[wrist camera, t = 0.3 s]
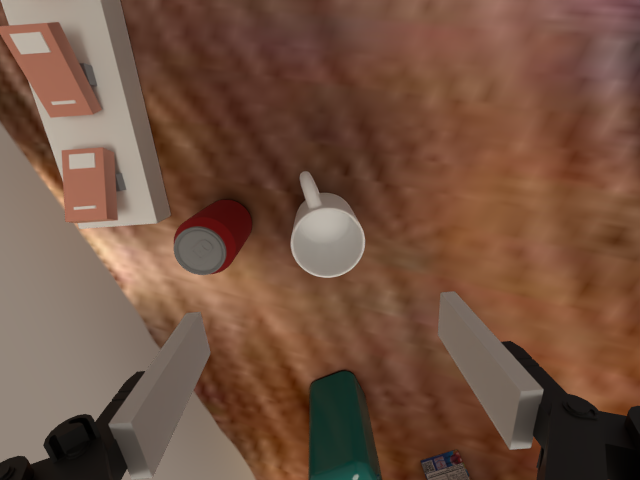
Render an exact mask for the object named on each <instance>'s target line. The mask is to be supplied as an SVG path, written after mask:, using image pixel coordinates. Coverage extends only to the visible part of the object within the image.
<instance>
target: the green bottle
mask: <svg viewBox="0 0 640 480" xmlns="http://www.w3.org/2000/svg"><path fill="white" fill-rule="evenodd" d="M309 480H382V476H381V471H380V466H379V461H378V456H377V451H376V447H375V442H374V437H373V432H372V427H371V422H370V417H369V412H368V407H367V403H366V398H365V395H364V393H363V391H362V389H361V387H360V385H359V383H358V381H357V379H356V377H355V376H354V375H353V374H352V373H351V372H348V371H341V372H338V373H336V374H333V375H330V376H327V377H325V378H322V379H319V380H317V381H315V382H313V383H312V385H311V387H310V395H309Z"/></svg>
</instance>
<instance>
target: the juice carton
mask: <svg viewBox="0 0 640 480" xmlns="http://www.w3.org/2000/svg"><path fill="white" fill-rule="evenodd" d="M421 463H422V466H423V469H424V472H425V475H426V478H427V480H471V478H470V476H469V474H468V472H467V470H466V467H465V465H464V463H463V461H462V459H461V457H460V455H459V452H458V450H457V449H456V450H453V451H450V452H447V453H444V454H440V455H437V456H434V457H431V458H428V459H425V460H421Z"/></svg>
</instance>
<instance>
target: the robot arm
mask: <svg viewBox="0 0 640 480" xmlns="http://www.w3.org/2000/svg"><path fill="white" fill-rule="evenodd" d="M438 336H439V337H440V339H441V341H442V342H443V344H444V345H445V347H446V349H447V350H448V352H449V353H450V355H451V357H452V358H453V360H454V361H455V363H456V365H457V366H458V368H459V369H460V371H461V373H462V374H463V376H464V377H465V379H466V380H467V382H468V384H469V385H470V387H471V388H472V390H473V392H474V393H475V395H476V396H477V398H478V400H479V401H480V403H481V404H482V406H483V408H484V409H485V411H486V412H487V414H488V416H489V417H490V419H491V420H492V422H493V424H494V425H495V427H496V428H497V430H498V432H499V433H500V435H501V436H502V438H503V440H504V441H505V443H506V444H507V446H508V448H509V449H523V448H531V444H532V440H533V436H534V437H535V439H536V440H537V441H538V443H539V444H540V445H541V450H540V454H539V459H538V463H537V467H536V468H538V473H537V480H608V479H609V480H640V406H635V407H631V409H630V410H629V411H628V414H627V416H624V415H618V414H613V413H607V412H602V411H598V409H597V408H596V407H595V406H593V405H592V404H591V403H589V402H588V401H586V400H584V399H582V398H580V397H578V396H575V395H571V394H567V393H566V392H565V391H564V390H563V389H562V388H561V387H560V386H559V385H558V384H557V383H556V382H555V381H554V380H553V379H552V378H551V377H550V376H549V375H548V374H547V372H546V371H545V370H544V369H543V368H542V367H539V364H538V363H537V362H536V361H535V360H534V359H532V357H531V356H530V355H529V354H528V353H527V352H526V351H525V350H524V349H523V348H521V347H520V346H518V345H516V344H515V343H513V342H511V341H506V342H500V341H499V340H498V339H497V338H496V336H495V335H494V334H493V333H492V332H491V331H490V330H489V329H488V328H487V327H486V325H485V324H484V323H483V322H482V321H481V320H480V319H479V318H478V317H477V316H476V314H475V313H474V312H473V311H472V310H471V309H470V308H469V307H468V306H467V305H466V303H465V302H464V301H463V300H462V299H461V298H460V297H459V296H458V295H457V293H456V292H443V293H441V295H440V311H439V326H438ZM209 355H210V349H209V345H208V341H207V337H206V333H205V329H204V325H203V320H202V316H201V312H195V313H186V315H185V316H184V317H183V319H182V320H181V322H180V323H179V324H178V326H177V327H176V329H175V330H174V332H173V333H172V334H171V336H170V337H169V339H168V340H167V342H166V343H165V344H164V346H163V347H162V349H161V350H160V351H159V353H158V354H157V356H156V357H155V359H154V360H153V362H152V363H151V364H150V366H149V367H148V369H147V370H146V371H141V372H136V373H135V374H134V375H133V376H132V377H130V378H129V379H128V380H127V381H126V382H125V383H124V384H123V386H122V387H121V389H120V390H119V391H118V393H117V394H116V395H115V397H114V398H113V399H112V402H110V403H109V404H108V406H107V407H106V408H105V410H104V411H103V412H102V414H101V415H100V416H99V418H98V419H97V420H96V422H94V419H93V418H92V416H91V415H87V414H83V415H77V416H75V417H72V418H70V419H68V420H66V421H64V422H63V423H61V424H59V425H58V426H57V427H56V428H55V429H54V430H52V431H51V432H50V434H49V435H48V436H47V438H46V439H45V442H44V448H45V449H46V451H47V453H48V455H49V457H50V458H48V459H45V460H42V461H39V462H36V463H33V464H30V463H29V461H28V460H27V459H26V458H25V456H17V457H13V458H9V459H7V460H5V461H3V462H1V463H0V480H121V479H122V477H123V475H124V473H125V472H126V470H127V469H128V472H129V474H130V476H131V479H144V478H153V476H154V474H155V471H156V469H157V467H158V465H159V463H160V461H161V459H162V456H163V454H164V452H165V450H166V448H167V446H168V444H169V441H170V439H171V437H172V435H173V432H174V431H175V428H176V426H177V424H178V422H179V420H180V418H181V416H182V413H183V411H184V409H185V407H186V405H187V403H188V401H189V398H190V396H191V394H192V392H193V390H194V388H195V385H196V383H197V381H198V379H199V377H200V375H201V373H202V370H203V368H204V366H205V364H206V362H207V360H208V358H209Z"/></svg>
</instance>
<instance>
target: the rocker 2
mask: <svg viewBox="0 0 640 480" xmlns="http://www.w3.org/2000/svg"><path fill="white" fill-rule="evenodd" d="M62 168H63V186H64V203H65V220H66V222H72V223H87V222H101V221H115V220H118V212H117V195H116V179H115V162H114V152H112V151H110V150H108V149H105V148H103V147H99V148H86V149H72V150H62Z"/></svg>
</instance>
